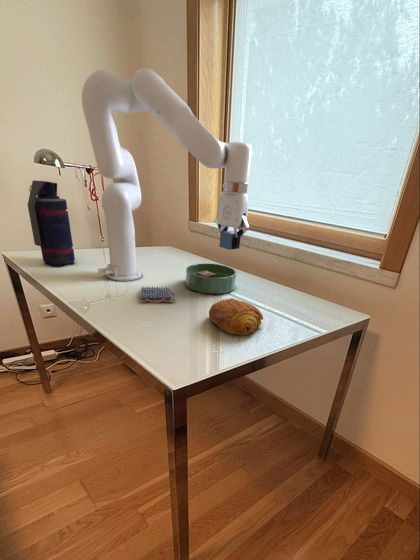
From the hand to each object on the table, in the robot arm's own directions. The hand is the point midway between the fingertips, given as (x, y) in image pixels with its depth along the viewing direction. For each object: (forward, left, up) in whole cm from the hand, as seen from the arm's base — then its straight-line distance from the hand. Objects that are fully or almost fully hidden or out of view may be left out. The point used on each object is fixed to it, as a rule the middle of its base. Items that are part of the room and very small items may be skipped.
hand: (229, 246), depth 110 cm
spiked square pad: (-27, +6, -15) cm, 31 cm away
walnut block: (-7, +4, -15) cm, 16 cm away
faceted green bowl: (-4, +4, -15) cm, 16 cm away
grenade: (-38, +59, -15) cm, 72 cm away
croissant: (-21, -24, -15) cm, 35 cm away
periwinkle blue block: (0, 0, 0) cm, 0 cm away
